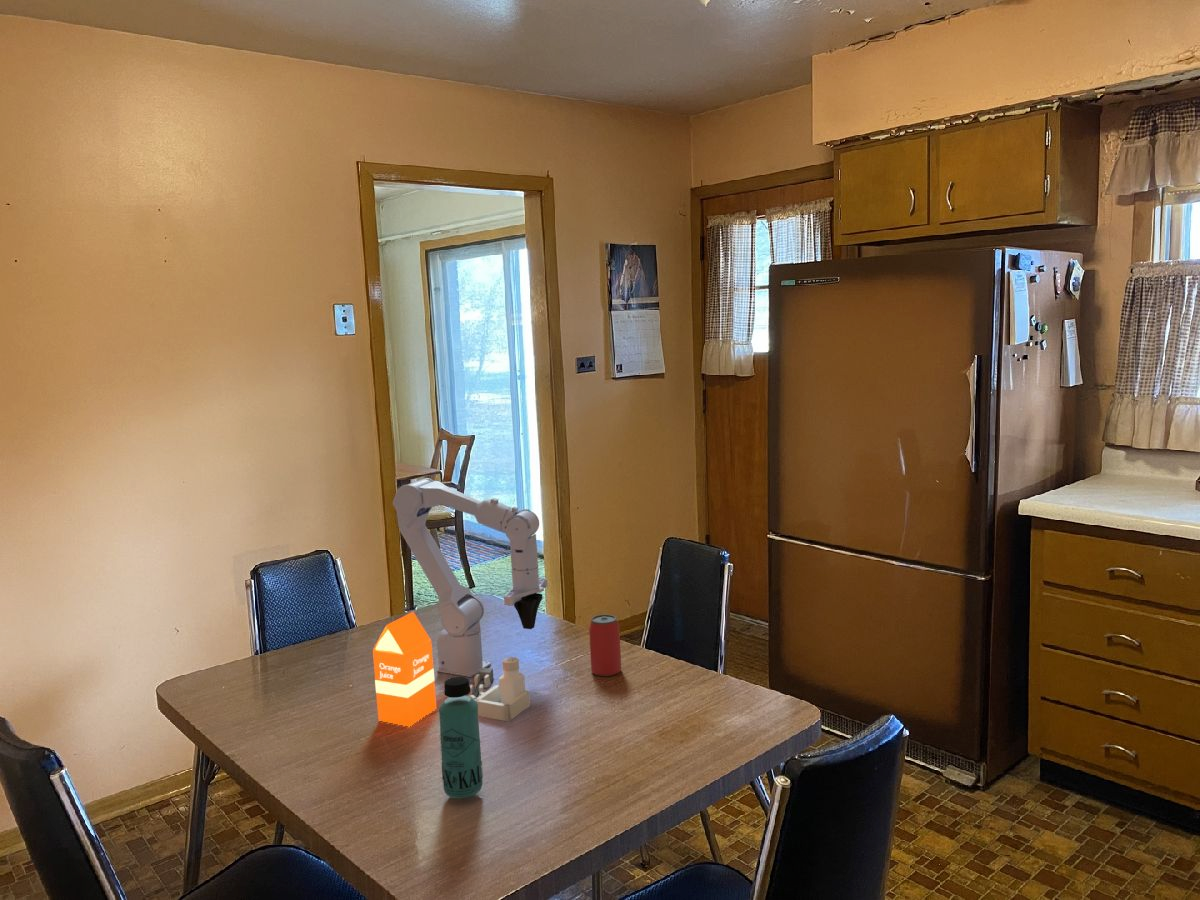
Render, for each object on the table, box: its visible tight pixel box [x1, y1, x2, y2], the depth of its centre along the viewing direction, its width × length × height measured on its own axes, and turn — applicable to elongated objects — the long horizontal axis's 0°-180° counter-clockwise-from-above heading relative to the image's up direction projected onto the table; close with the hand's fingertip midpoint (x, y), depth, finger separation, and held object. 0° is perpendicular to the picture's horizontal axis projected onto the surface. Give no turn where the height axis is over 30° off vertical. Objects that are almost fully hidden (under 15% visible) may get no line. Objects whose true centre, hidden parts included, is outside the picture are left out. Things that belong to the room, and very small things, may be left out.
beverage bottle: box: [438, 675, 484, 799], centre depth 140 cm, size 6×7×20 cm
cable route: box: [473, 667, 495, 698], centre depth 182 cm, size 3×16×2 cm, turn 0°
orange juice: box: [372, 611, 437, 728], centre depth 172 cm, size 8×9×20 cm
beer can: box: [588, 614, 622, 677], centre depth 190 cm, size 7×7×12 cm
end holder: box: [475, 684, 531, 722], centre depth 174 cm, size 8×8×3 cm
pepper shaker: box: [498, 656, 526, 704], centre depth 175 cm, size 4×4×10 cm
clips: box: [467, 673, 492, 700], centre depth 181 cm, size 4×13×2 cm, turn 3°
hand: (528, 627), depth 190 cm, fingers closed
